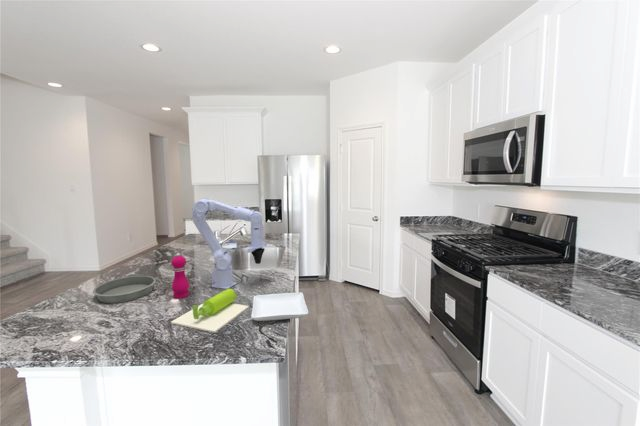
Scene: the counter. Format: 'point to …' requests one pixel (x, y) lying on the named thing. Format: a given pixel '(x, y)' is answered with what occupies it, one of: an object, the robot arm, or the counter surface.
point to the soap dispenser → (215, 303)
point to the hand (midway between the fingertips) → (258, 263)
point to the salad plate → (279, 306)
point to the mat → (211, 318)
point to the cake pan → (124, 289)
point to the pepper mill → (179, 277)
